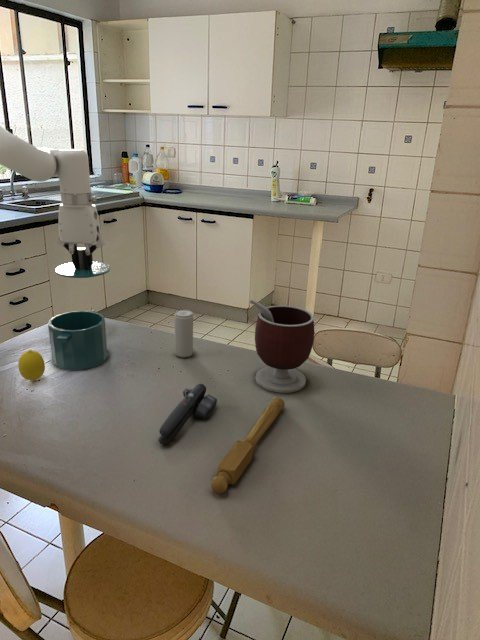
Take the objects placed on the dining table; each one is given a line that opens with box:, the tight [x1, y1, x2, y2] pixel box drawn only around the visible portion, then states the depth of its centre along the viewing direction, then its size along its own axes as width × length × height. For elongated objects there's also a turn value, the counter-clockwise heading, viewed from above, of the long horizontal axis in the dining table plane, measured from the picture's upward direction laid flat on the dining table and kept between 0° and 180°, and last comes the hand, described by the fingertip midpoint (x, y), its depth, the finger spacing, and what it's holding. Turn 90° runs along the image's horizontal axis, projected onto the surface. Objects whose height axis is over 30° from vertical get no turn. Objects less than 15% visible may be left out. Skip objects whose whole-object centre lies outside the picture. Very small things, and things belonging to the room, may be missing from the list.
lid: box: [54, 247, 111, 279], centre depth 127 cm, size 14×14×7 cm
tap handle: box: [210, 396, 286, 494], centre depth 89 cm, size 3×3×30 cm
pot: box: [47, 309, 109, 371], centre depth 118 cm, size 13×19×10 cm
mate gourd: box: [249, 299, 315, 394], centre depth 110 cm, size 16×14×20 cm
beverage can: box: [174, 309, 194, 359], centre depth 122 cm, size 5×5×12 cm
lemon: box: [17, 349, 46, 382], centre depth 107 cm, size 6×6×8 cm
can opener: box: [158, 383, 218, 446], centre depth 94 cm, size 18×7×6 cm, turn 154°
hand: (83, 267), depth 128 cm, fingers closed on lid, 2 cm apart
